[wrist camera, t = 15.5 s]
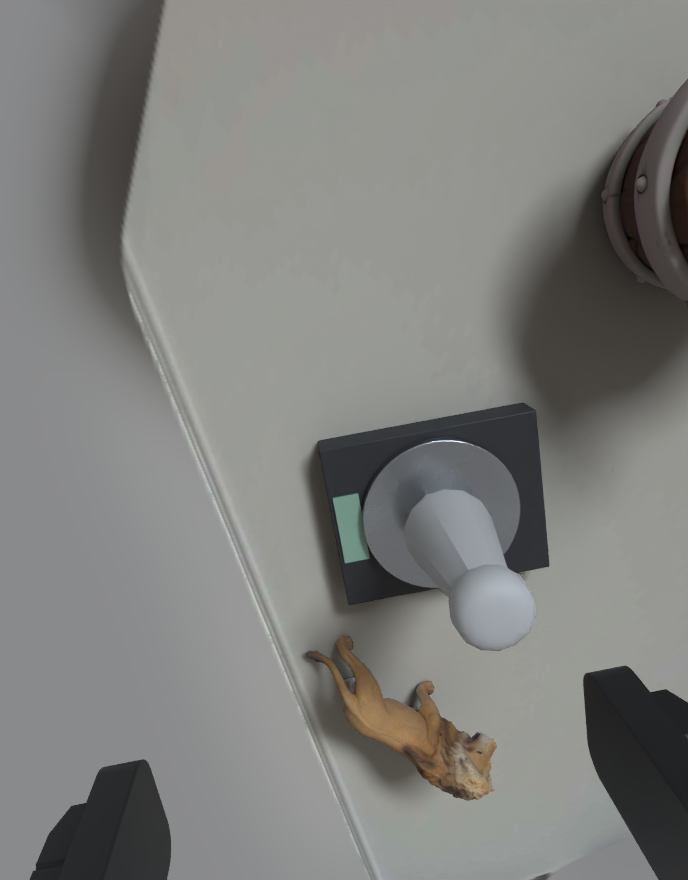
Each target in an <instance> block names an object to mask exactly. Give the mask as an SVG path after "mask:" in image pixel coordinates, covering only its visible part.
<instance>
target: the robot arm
mask: <svg viewBox="0 0 688 880" xmlns="http://www.w3.org/2000/svg"><path fill="white" fill-rule="evenodd" d="M583 686H584V699H585V713H586V726H587V740H588V747H589V751H590V755H591V758H592V761H593V764H594V767H595V769H596V772H597V774H598V776H599V778H600V780H601V782H602V784H603V785H604V787H605V789H606V790H607V792H608V794H609V796H610V797H611V799H612V801H613V802H614V804H615V806H616V808H617V809H618V811H619V813H620V814H621V816H622V818H623V820H624V821H625V823H626V825H627V826H628V828H629V830H630V832H631V833H632V835H633V837H634V838H635V840H636V842H637V844H638V845H639V847H640V849H641V850H642V852H643V854H644V856H645V857H646V859H647V861H648V862H649V864H650V866H651V867H652V869H653V871H654V873H655V874H656V876H657V878H658V879H659V880H688V703H687V702H686V701H684V700H683V699H681V698H679V697H678V696H676V695H674V694H673V693H671V692H669V691H668V690H666V689H665V690H660V691H655V692H650V691H649V690H648V689H647V688H646V687H645V685H644V684H643V683H642V682H641V680H640V679H639V678H638V677H637V675H636V674H635V673H634V672H633V671H632V670H631V669H630V668H629V667H628V666H621V667H615V668H610V669H605V670H600V671H595V672H590V673H586V674H585V675H584V679H583ZM170 859H171V837H170V829H169V824H168V821H167V818H166V815H165V812H164V809H163V805H162V802H161V800H160V796H159V793H158V790H157V787H156V784H155V781H154V777H153V775H152V771H151V768H150V766H149V764H148V763H147V761H146V760H138V761H133V762H128V763H122V764H117V765H113V766H107V767H103V768H101V769H100V770H99V772H98V774H97V776H96V779H95V782H94V784H93V787H92V789H91V792H90V795H89V797H88V800H87V803H84V804H79V805H74V806H71V807H70V809H69V810H68V811H67V812H66V814H65V815H64V816H63V817H62V819H61V820H60V821H59V822H58V823H57V825H56V826H55V827H54V829H53V830H52V831H51V832H50V833H49V835H48V837H47V840H46V842H45V845H44V847H43V849H42V852H41V854H40V856H39V859H38V861H37V863H36V871H33V873H32V875H31V878H30V880H167V876H168V871H169V866H170Z"/></svg>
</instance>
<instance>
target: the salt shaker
mask: <svg viewBox="0 0 688 880" xmlns="http://www.w3.org/2000/svg"><path fill="white" fill-rule="evenodd" d="M404 530H405V538H406V545H407V549H408V551H409V552H410V554H411V555H412V557H413V558H414V560H415V561H416V563H417V564H418V565H419V566H420V567H421V568H422V570H423V571H424V572H425V573H426V574H427V575H428V576H429V577H430V578H431V579H432V580H433V582H434V583H435V584H436V585H437V586H438V587H439V588H440V589H441V590H442V591H443V592H444V593H445V595H446V596H447V597H448V598H449V608H450V617H451V620H452V623H453V625H454V626H455V628H456V629H457V631H458V632H459V634H460V635H461V637H462V638H463V639H464V640H465V642H466V643H468V644H470V645H472V646H474V647H476V648H478V649H480V650H490V651H500V650H502V649H505V648H508V647H510V646H513V645H516V644H517V643H518V642H519V641H520V640H521V639H523V638H524V637H525V636H526V635H527V634H528V633H529V632H530V629H531V627H532V625H533V623H534V620H535V618H536V609H535V599H534V596H533V594H532V592H531V591H530V589H529V588H528V586H527V585H526V583H525V582H524V580H523V579H522V578H521V576H520V575H519V574H517V573H515V572H514V571H512V570H510V569H508V568H507V565H506V562H505V559H504V555H503V552H502V549H501V546H500V543H499V540H498V536H497V533H496V530H495V527H494V524H493V520H492V517H491V516H490V514H489V512H488V511H487V509H486V508H485V506H484V505H483V503H482V502H481V501H480V500H479V499H477V498H475V497H473V496H472V495H470V494H468V493H466V492H465V491H463V490H448V489H443V490H440V491H437V492H435V493H431V494H426V495H425V496H424V498H423V499H422V500H421V501H420V502H419V503H418V504H417V505H416V506H415V507H414V508H413V509H412V510H411V512H410V514H409V517H408V519H407V522H406V524H405V527H404Z"/></svg>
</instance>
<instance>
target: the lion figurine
mask: <svg viewBox="0 0 688 880" xmlns="http://www.w3.org/2000/svg"><path fill="white" fill-rule="evenodd" d="M336 647H337V650H338V652H339V654H340V656H341V658H342V659H343V660H344V661H345V662H346V663H347V664H348V665H349V667H350V668H351V670H352V672H353V674H354V677H355V678H353V677H350V678H347V679H345V680H343V678H342V676H341V674H340V672H339V671H338V669H337V667H336V666H335V664H334V663H333V662H332V661H331V660H330V659H329V658H328V657H325V656H324V655H322V654H321V653H319V652H318V651H316V650H315V651H308V652H307V653H306V656H307V657H308V658H310V659H313V660H315V661H317V662H322V663H324V664H326V665H327V666H328V667H329V669H330V671H331V673H332V675H333V677H334V679H335V682H336V684H337V687H338V689H339V691H340V694H341V696H342V698H343V701H344V708H343V712H344V715H345V717H346V719H347V720H348V722H349V723H350V724H351V725H352V726H353V727H354V728H355V729H356V730H357V731H358V732H359V733H360V734H362V735H363V736H366V737H369V738H372V739H375V740H378V741H379V742H381V743H383V744H385V745H386V746H388V747H389V748H391V749H393V750H394V751H396V752H398V753H400V754H401V755H403V756H405V757H406V758H408V759H409V760H410V761H411V762H412V763H413V764H414V765H415V766H416V768H417V770H418V772H419V773H420V774H421V776H422V777H423V778H425V779H427V780H428V781H429V782H430V784H432V785H435V786H436V787H438V788H440V789H441V790H442V791H444V792H447V793H449V794H453V797H455V798H461V799H464V800H473V799H476V800H478V799H480V798H482V797H483V796H484V795H485V794H488V793H489V791H494V789H493V788H492V783H491V776H490V774H489V771H490V770H491V763H490V758H491V756H492V754H493V752H494V751H495V749H496V747H497V744H496V742H495V741H494V740H493V739H490V738H489V737H488V736H487V735H485V734H483V733H482V732H477V733H476V734H475V735H474V736H473V737H472V738H471V737H470V736H469V735H468V733H466V732H464V731H462V732H460V731H458V730H457V729H456V728H455V726H454V725H453V724H452V722H451V721H448V720H446V719H445V718H442V717H441V716H440V714H439V711H438V709H437V707H436V705H435V703H434V702H433V700H432V699H431V698H430V697H429V695H430V694H432V693H433V692H434V691H433V689H434V686H433V685H432V682H431V681H426V682H422V683H420V684H419V686H418V687H417V689H416V693H417V696H418V699H419V700H420V703H421V706H420V708H419V709H417V708H411V707H409V706H407V705H406V704H403V703H401V702H399V701H397V700H394V699H390V698H386V699H384V698H383V697H382V694H381V690H380V687H379V685H378V683H377V681H376V680H375V678H374V676H373V675H372V673H371V672H370V670H369V669H368V668H367V667H366V666H365V664H363V663H362V662H361V661H360V660H359V659H358V658H357V657H356V656H355V655H354V654H353V653H352V652H351V651H350V650H352V649H353V642H352V639H351V638H350V637H348V636H342V637H341V638H340V639H339V640H338V642H337V644H336ZM354 691H355V692H354Z"/></svg>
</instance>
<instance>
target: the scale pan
mask: <svg viewBox="0 0 688 880" xmlns="http://www.w3.org/2000/svg"><path fill="white" fill-rule="evenodd" d="M443 489H448V490H463V491H465V492H466V493H468V494H470V495H472V496H473V497H475V498H477V499H479V500H480V501H481V502H482V503H483V505H484V506H485V508H486V509H487V511H488V512H489V514H490V516H491V517H492V520H493V524H494V527H495V530H496V533H497V536H498V540H499V543H500V546H501V549H502V552H503V555H504V554H505V553H506V551H507V550H508V549H509V547H510V545H511V543H512V541H513V539H514V537H515V534H516V532H517V528H518V524H519V520H520V498H519V492H518V489H517V486H516V483H515V481H514V479H513V477H512V475H511V473H510V472H509V470H508V469H507V467H506V466H505V465H504V464H503V463H502V462H501V461H500V460H499V459H498V458H497V457H496V456H495V455H494V454H493V453H491V452H490V451H489V450H487V449H486V448H484V447H482V446H481V445H478V444H476V443H474V442H471V441H468V440H464V439H459V438H452V437H439V438H431V439H427V440H423V441H419V442H416V443H414V444H411V445H409V446H407V447H405V448H403V449H402V450H400V451H398V452H397V453H396V454H394V455H393V456H391V457H390V458H389V459H388V460H387V461H386V462H385V463H384V464H383V465H382V466H381V467H380V469H379V470H378V471H377V472H376V474H375V475H374V477H373V479H372V480H371V482H370V484H369V486H368V488H367V491H366V494H365V497H364V502H363V507H362V523H363V530H364V534H365V538H366V541H367V544H368V546H369V549H370V551H371V552H372V554H373V556H374V557H375V559H376V560H377V561H378V562H379V564H380V565H381V566H382V567H383V568H384V569H385V570H387V571H388V572H389V573H390V574H392V575H393V576H395V577H396V578H398V579H400V580H402V581H404V582H407V583H410V584H412V585H416V586H420V587H427V588H439V587H438V586H437V585H436V584H435V583H434V582H433V580H432V579H431V578H430V577H429V576H428V575H427V574H426V573H425V572H424V571H423V570H422V568H421V567H420V566H419V565H418V564H417V563H416V561H415V560H414V558H413V557H412V555H411V554H410V552H409V551H408V549H407V545H406V538H405V530H404V527H405V524H406V522H407V519H408V517H409V514H410V512H411V510H412V509H413V508H414V507H415V506H416V505H417V504H418V503H419V502H420V501H421V500H422V499H423V498H424V496H425V495H426V494H431V493H435V492H437V491H440V490H443Z"/></svg>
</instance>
